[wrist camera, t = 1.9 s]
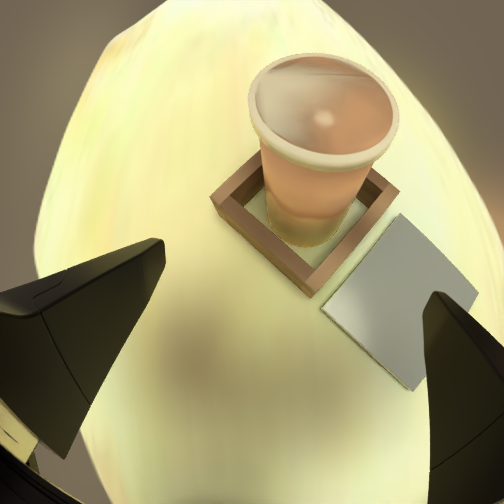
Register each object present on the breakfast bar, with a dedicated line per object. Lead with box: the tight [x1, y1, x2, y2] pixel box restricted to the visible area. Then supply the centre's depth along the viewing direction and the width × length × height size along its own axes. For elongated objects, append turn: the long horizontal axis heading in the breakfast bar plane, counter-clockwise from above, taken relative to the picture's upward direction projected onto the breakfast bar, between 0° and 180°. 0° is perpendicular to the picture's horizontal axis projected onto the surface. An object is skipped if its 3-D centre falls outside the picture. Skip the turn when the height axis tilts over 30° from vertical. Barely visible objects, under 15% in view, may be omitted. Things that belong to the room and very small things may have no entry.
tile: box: [321, 213, 479, 392], centre depth 21 cm, size 10×10×1 cm
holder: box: [209, 149, 400, 298], centre depth 22 cm, size 10×10×4 cm
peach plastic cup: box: [248, 53, 399, 247], centre depth 18 cm, size 9×7×13 cm
